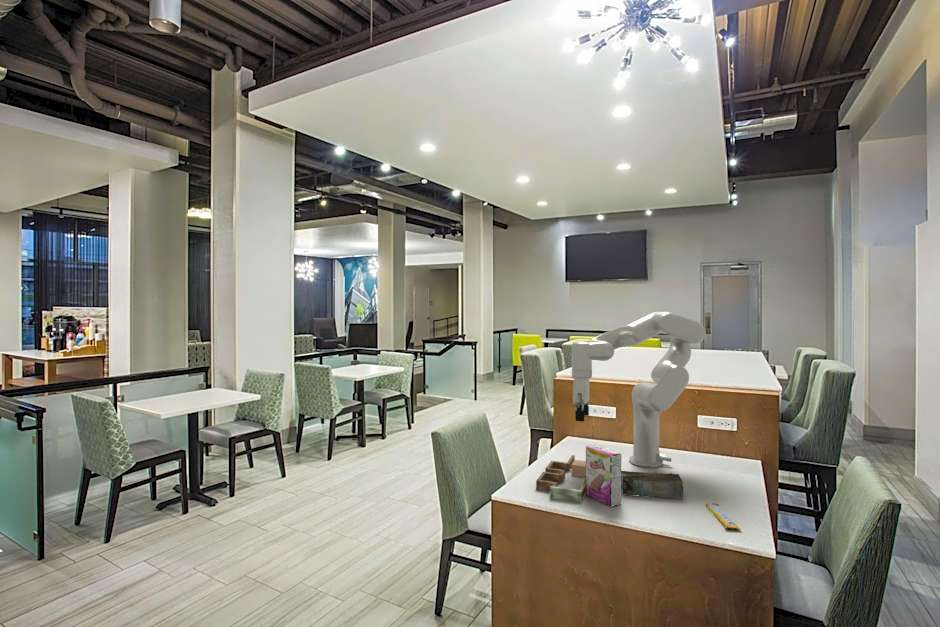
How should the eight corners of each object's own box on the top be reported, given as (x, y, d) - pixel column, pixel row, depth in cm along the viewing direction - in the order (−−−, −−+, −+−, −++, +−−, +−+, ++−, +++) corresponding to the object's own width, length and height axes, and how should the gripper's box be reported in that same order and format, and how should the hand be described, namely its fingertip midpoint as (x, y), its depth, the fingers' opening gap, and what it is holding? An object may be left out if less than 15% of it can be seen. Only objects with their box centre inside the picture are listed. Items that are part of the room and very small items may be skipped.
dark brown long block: (620, 486, 171) (620, 467, 171) (679, 491, 167) (679, 472, 166) (622, 495, 163) (622, 475, 163) (684, 501, 159) (684, 480, 159)
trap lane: (598, 465, 192) (598, 456, 192) (581, 502, 157) (581, 491, 157) (557, 460, 198) (557, 451, 198) (531, 495, 163) (532, 484, 163)
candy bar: (704, 507, 154) (704, 501, 154) (718, 508, 154) (718, 502, 154) (725, 532, 138) (725, 526, 138) (741, 533, 137) (741, 526, 137)
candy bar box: (584, 495, 162) (584, 446, 162) (595, 492, 165) (595, 443, 165) (610, 507, 153) (611, 455, 153) (621, 504, 156) (622, 452, 155)
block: (588, 472, 185) (588, 461, 185) (585, 477, 180) (585, 466, 180) (574, 470, 187) (575, 459, 187) (571, 475, 182) (571, 464, 182)
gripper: (576, 370, 200) (576, 412, 200) (567, 376, 184) (567, 422, 184) (595, 371, 197) (595, 414, 197) (587, 377, 181) (588, 424, 181)
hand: (582, 418), depth 191 cm, fingers open, 9 cm apart
